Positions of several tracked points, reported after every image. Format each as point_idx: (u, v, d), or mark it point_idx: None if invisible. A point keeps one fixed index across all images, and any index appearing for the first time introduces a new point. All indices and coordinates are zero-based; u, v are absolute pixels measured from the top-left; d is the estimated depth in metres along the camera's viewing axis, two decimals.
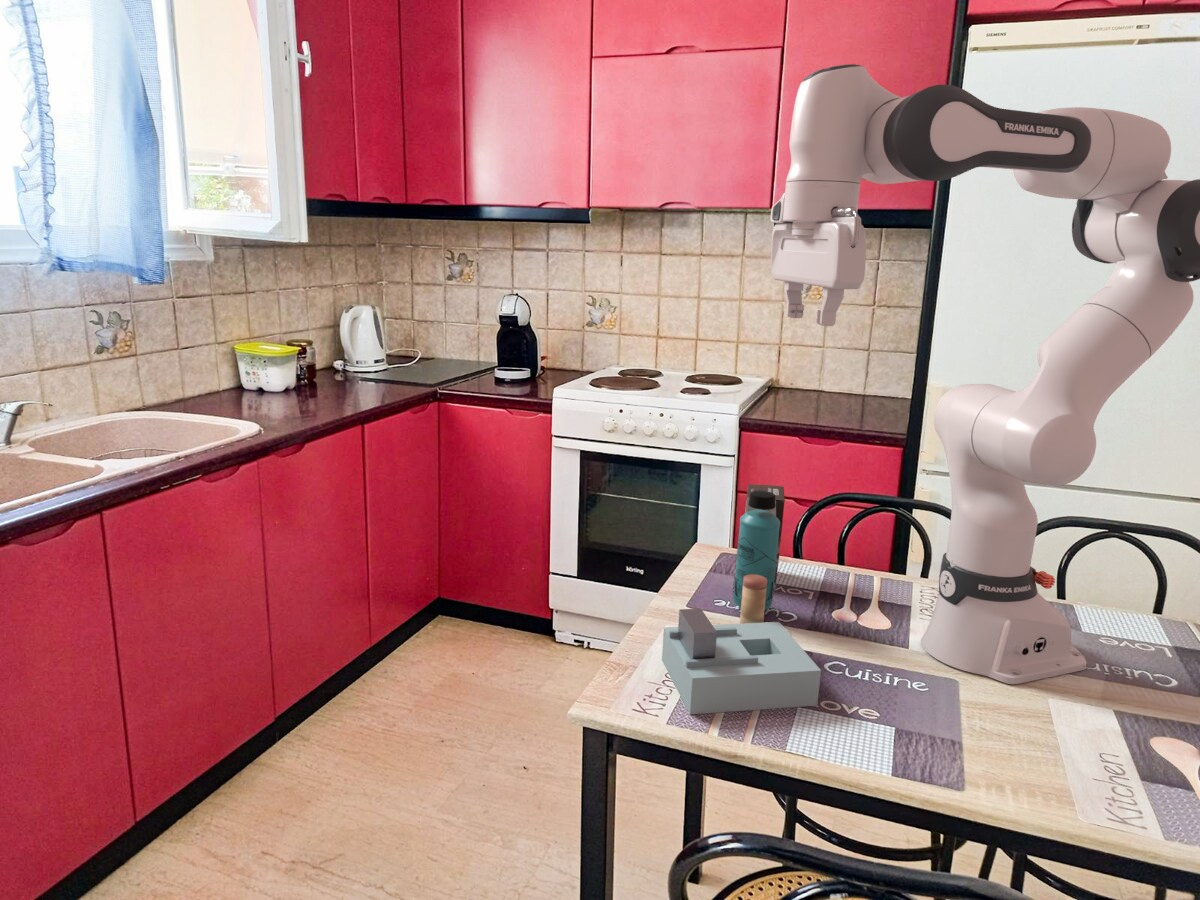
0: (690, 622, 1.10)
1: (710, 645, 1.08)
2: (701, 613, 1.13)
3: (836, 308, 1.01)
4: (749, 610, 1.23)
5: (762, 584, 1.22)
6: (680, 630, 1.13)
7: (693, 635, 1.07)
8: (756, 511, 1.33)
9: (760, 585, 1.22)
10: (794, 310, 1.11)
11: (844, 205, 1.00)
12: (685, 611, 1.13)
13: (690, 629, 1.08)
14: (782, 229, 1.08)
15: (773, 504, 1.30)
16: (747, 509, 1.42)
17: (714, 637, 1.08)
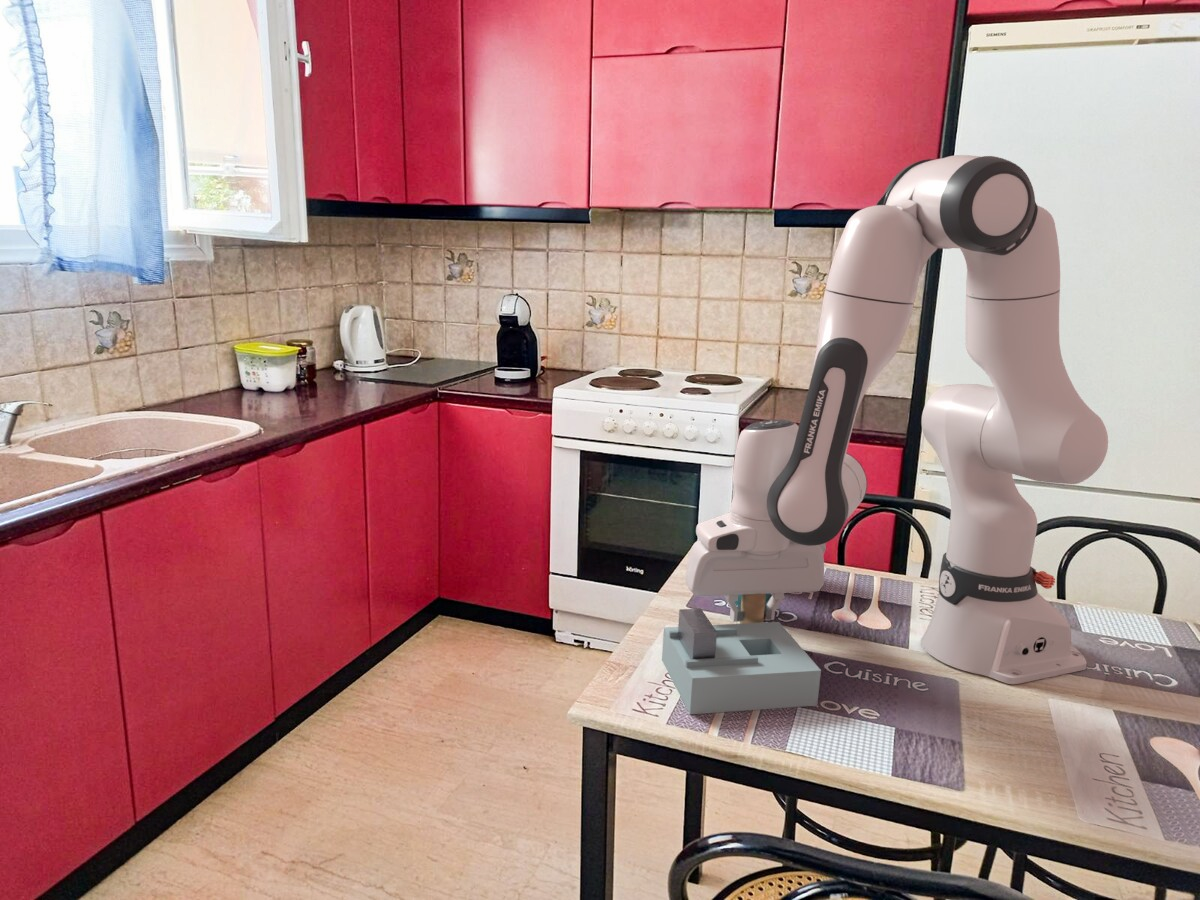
0: (690, 622, 1.10)
1: (710, 645, 1.08)
2: (701, 613, 1.13)
3: None
4: (749, 610, 1.23)
5: None
6: (680, 630, 1.13)
7: (693, 635, 1.07)
8: None
9: None
10: None
11: None
12: (685, 611, 1.13)
13: (690, 629, 1.08)
14: (733, 556, 1.18)
15: None
16: None
17: (714, 637, 1.08)
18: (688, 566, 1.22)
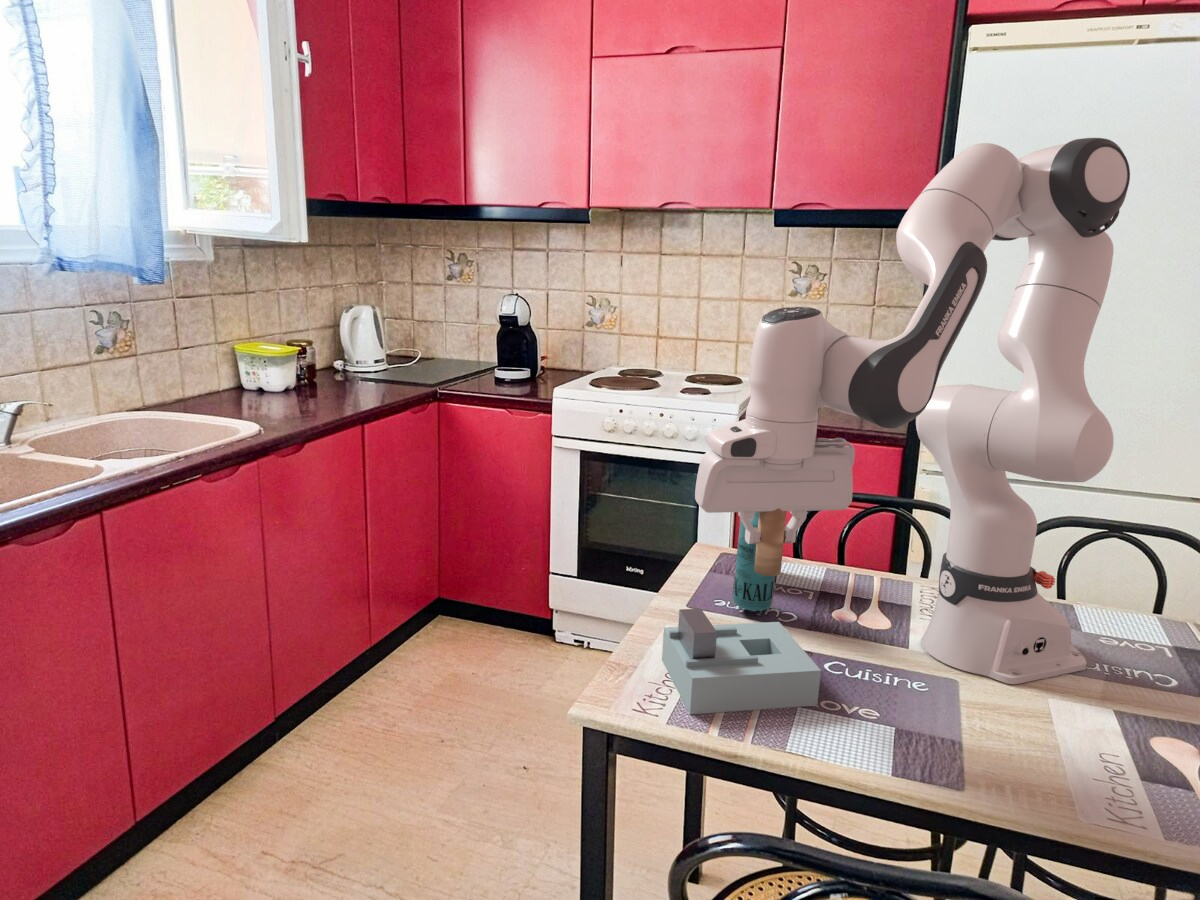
0: (690, 622, 1.10)
1: (710, 645, 1.08)
2: (701, 613, 1.13)
3: None
4: (767, 533, 1.08)
5: None
6: (680, 630, 1.13)
7: (693, 635, 1.07)
8: None
9: None
10: None
11: None
12: (685, 611, 1.13)
13: (690, 629, 1.08)
14: (750, 464, 1.03)
15: None
16: None
17: (714, 637, 1.08)
18: (698, 480, 1.07)
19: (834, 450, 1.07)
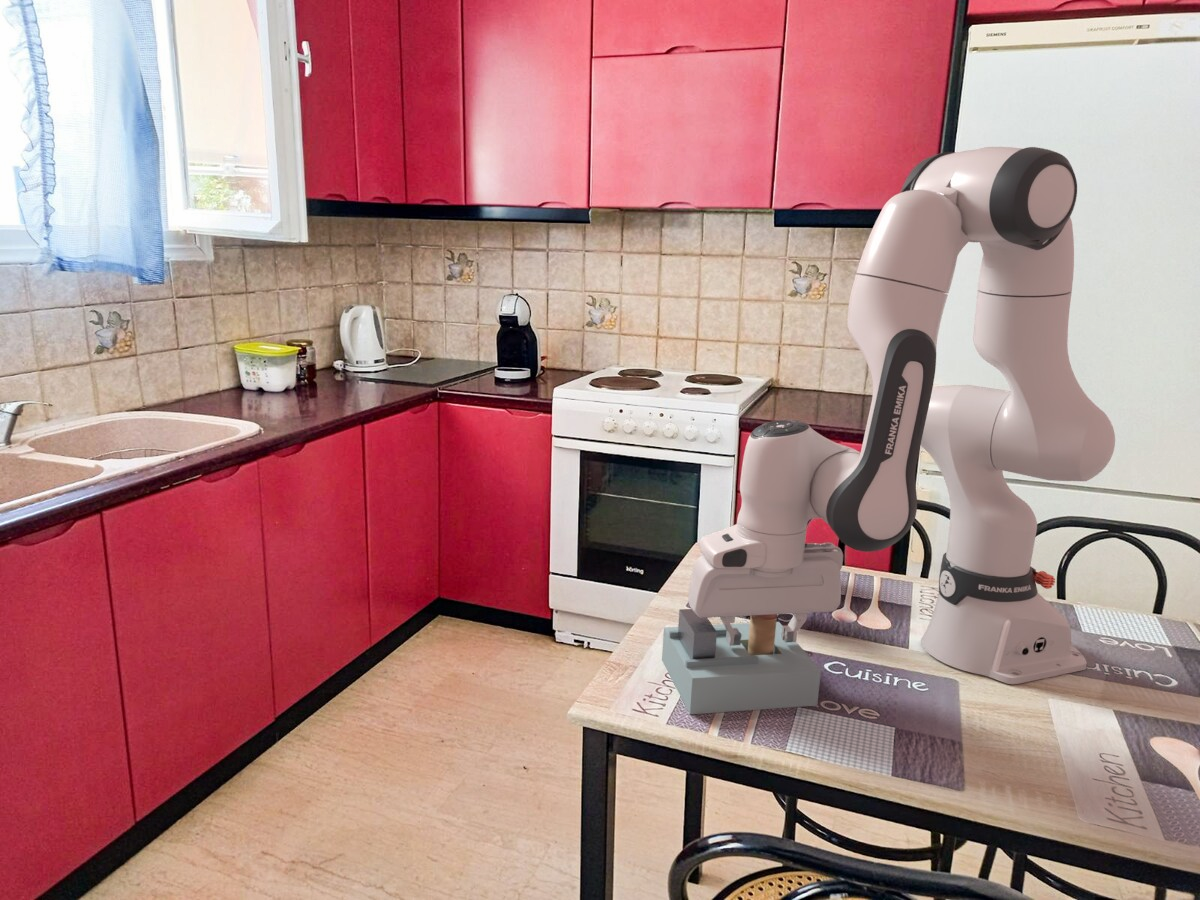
0: (690, 622, 1.10)
1: (710, 645, 1.08)
2: None
3: None
4: (757, 642, 1.12)
5: (772, 614, 1.11)
6: (680, 630, 1.13)
7: (693, 635, 1.07)
8: None
9: None
10: None
11: None
12: (685, 611, 1.13)
13: (690, 629, 1.08)
14: (741, 573, 1.07)
15: None
16: None
17: (714, 637, 1.08)
18: (691, 584, 1.10)
19: (823, 555, 1.11)
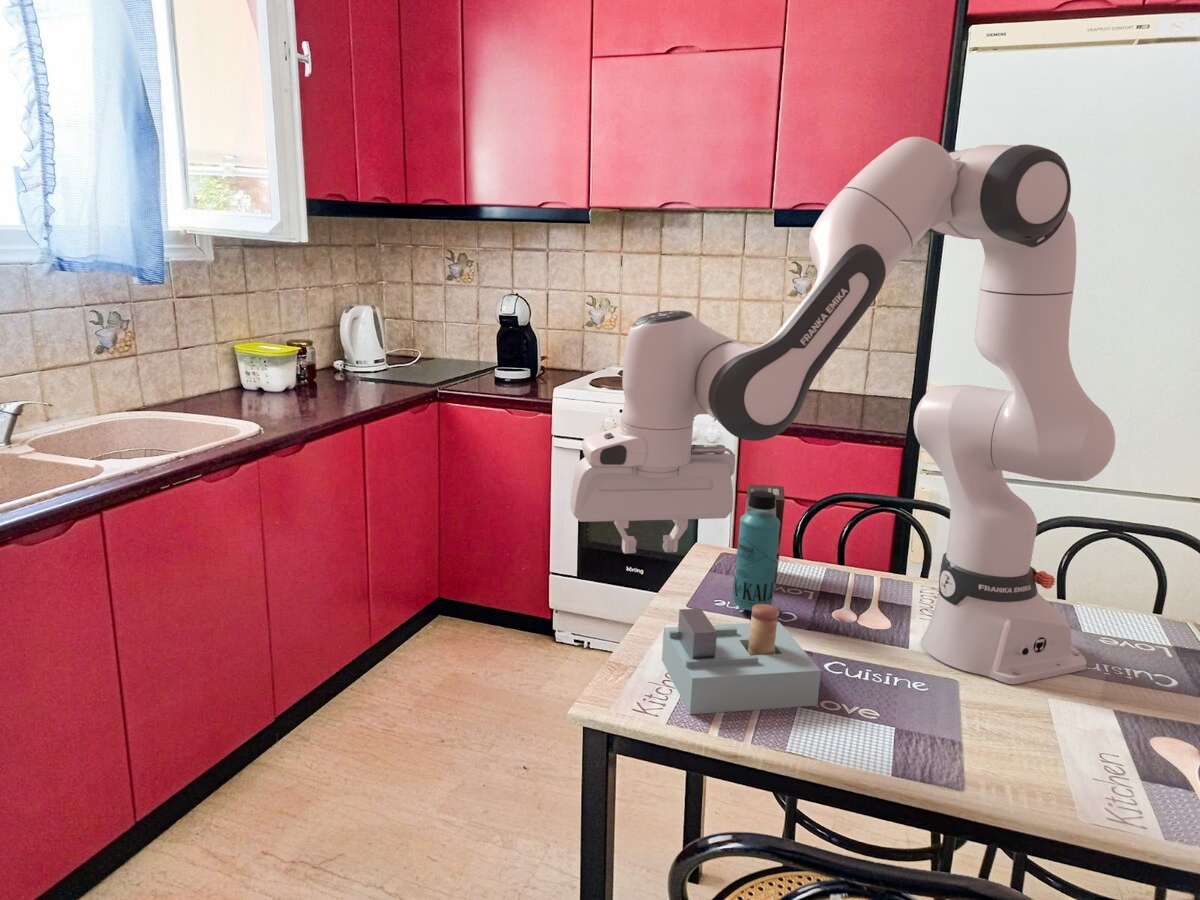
0: (690, 622, 1.10)
1: (710, 645, 1.08)
2: (701, 613, 1.13)
3: None
4: (757, 643, 1.11)
5: (773, 615, 1.11)
6: (680, 630, 1.13)
7: (693, 635, 1.07)
8: (756, 511, 1.33)
9: (770, 616, 1.10)
10: None
11: None
12: (685, 611, 1.13)
13: (690, 629, 1.08)
14: (621, 472, 1.00)
15: (773, 504, 1.30)
16: (747, 509, 1.42)
17: (714, 637, 1.08)
18: (572, 487, 1.04)
19: (713, 457, 1.05)
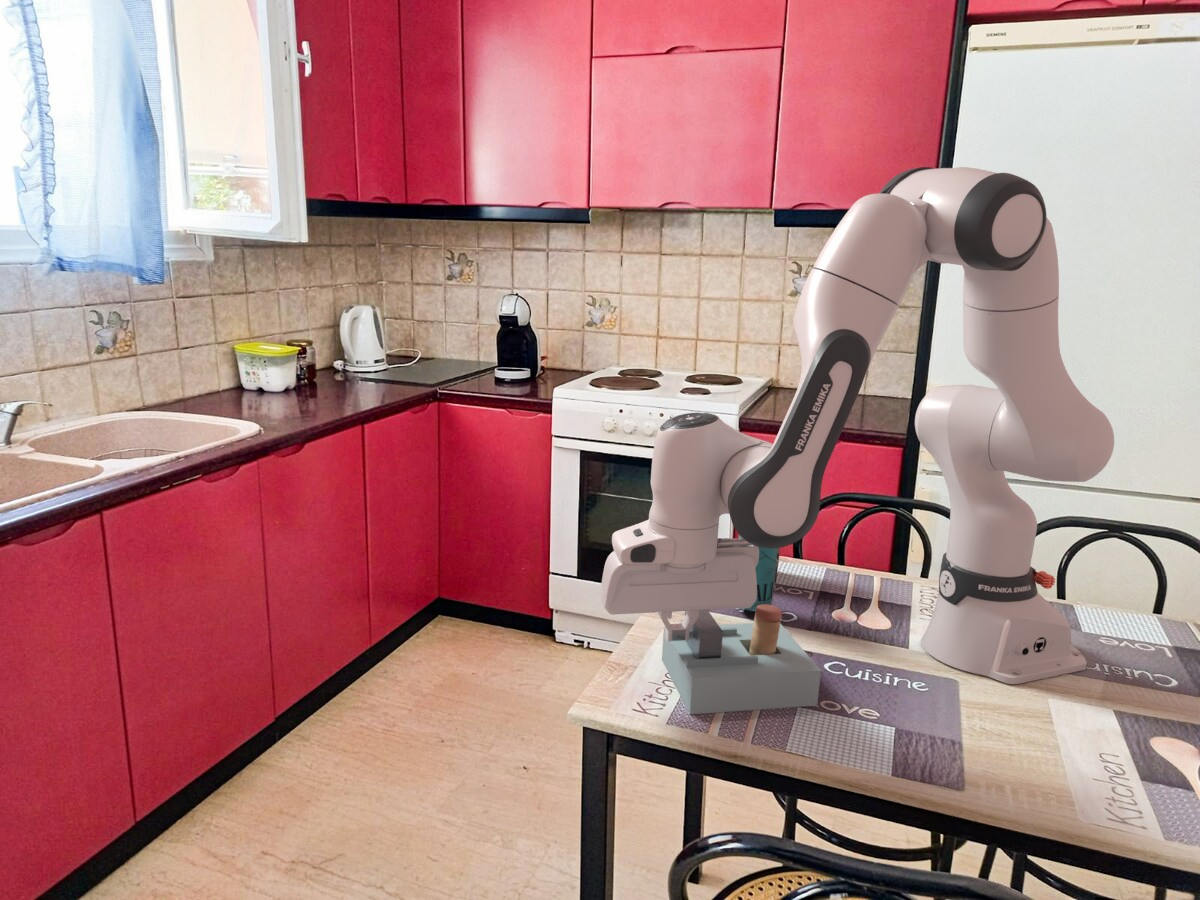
0: (696, 621, 1.10)
1: (716, 645, 1.08)
2: (707, 613, 1.13)
3: None
4: (759, 644, 1.11)
5: (776, 617, 1.10)
6: None
7: (699, 634, 1.07)
8: None
9: (773, 618, 1.10)
10: None
11: None
12: None
13: (696, 629, 1.09)
14: (651, 569, 1.04)
15: None
16: None
17: (720, 637, 1.08)
18: (603, 580, 1.08)
19: (738, 550, 1.09)
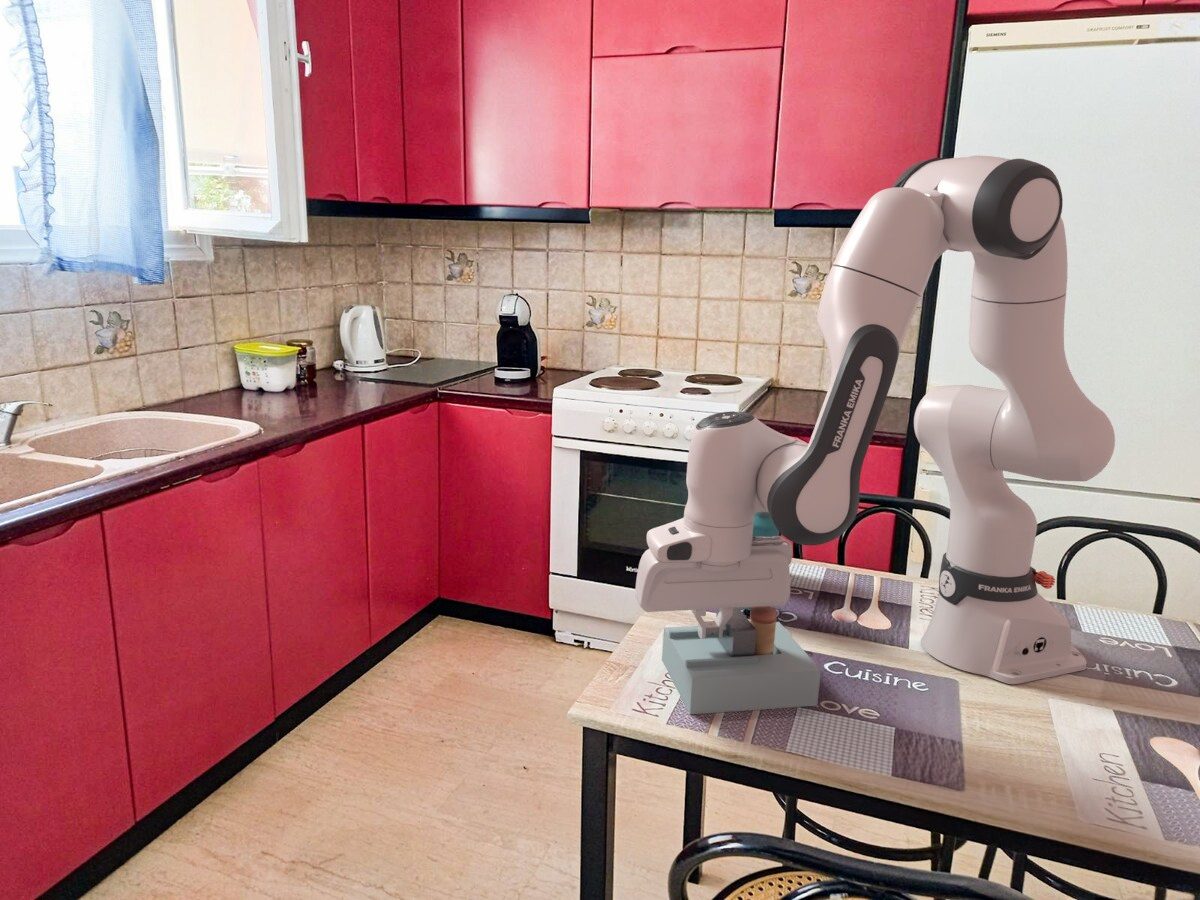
0: (729, 620, 1.11)
1: (750, 643, 1.09)
2: (739, 611, 1.14)
3: None
4: (755, 645, 1.11)
5: (770, 618, 1.10)
6: None
7: (733, 633, 1.08)
8: None
9: (768, 619, 1.10)
10: None
11: None
12: None
13: (729, 627, 1.09)
14: (686, 566, 1.05)
15: None
16: None
17: (753, 635, 1.09)
18: (638, 578, 1.09)
19: (772, 548, 1.09)
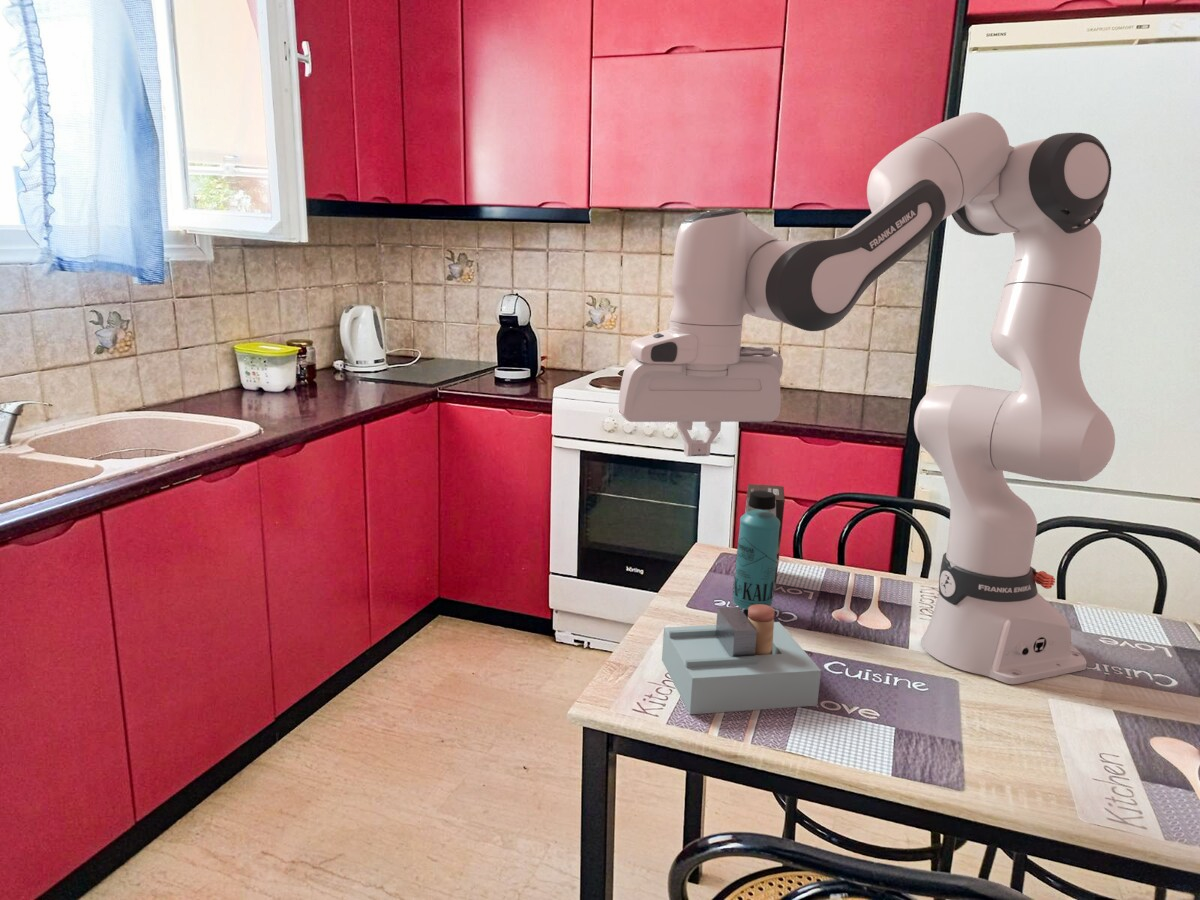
0: (730, 620, 1.11)
1: (750, 643, 1.09)
2: (739, 611, 1.14)
3: None
4: None
5: (767, 616, 1.10)
6: (718, 628, 1.14)
7: (734, 633, 1.08)
8: (756, 511, 1.33)
9: (765, 617, 1.10)
10: None
11: None
12: (723, 609, 1.14)
13: (730, 627, 1.09)
14: (672, 370, 1.01)
15: (773, 504, 1.30)
16: (747, 509, 1.42)
17: (754, 635, 1.09)
18: (621, 389, 1.04)
19: (761, 359, 1.05)
